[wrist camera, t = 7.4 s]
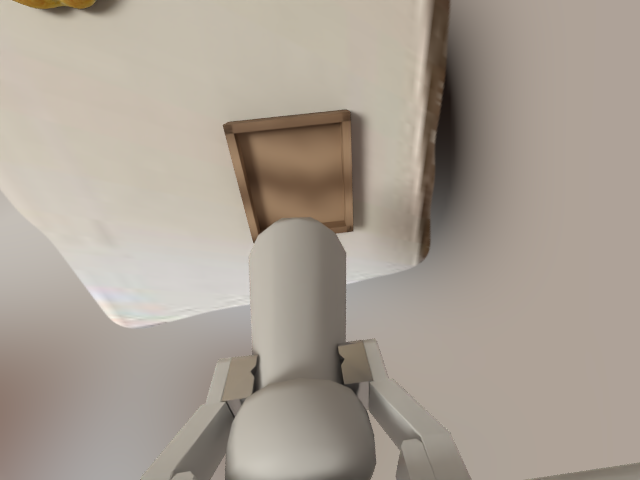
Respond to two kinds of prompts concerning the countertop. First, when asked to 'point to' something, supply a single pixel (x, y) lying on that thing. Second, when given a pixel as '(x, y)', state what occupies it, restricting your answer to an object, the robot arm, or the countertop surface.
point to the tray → (294, 168)
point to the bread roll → (56, 3)
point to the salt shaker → (299, 365)
